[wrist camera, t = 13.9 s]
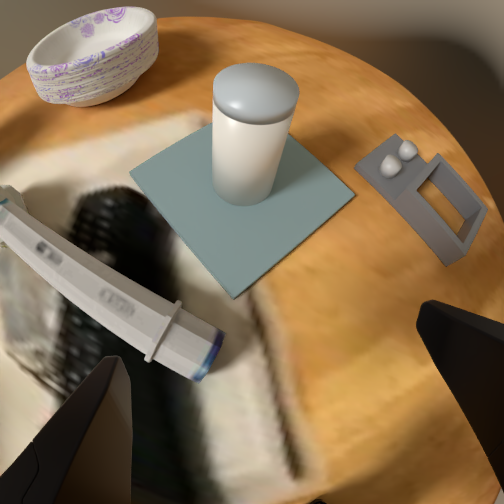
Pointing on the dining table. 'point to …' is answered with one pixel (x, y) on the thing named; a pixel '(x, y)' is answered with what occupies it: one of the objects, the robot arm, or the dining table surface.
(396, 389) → the dining table surface
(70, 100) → the paper bowls
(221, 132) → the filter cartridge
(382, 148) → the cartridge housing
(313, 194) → the rubber mat
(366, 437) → the dining table surface
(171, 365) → the grey long piece
